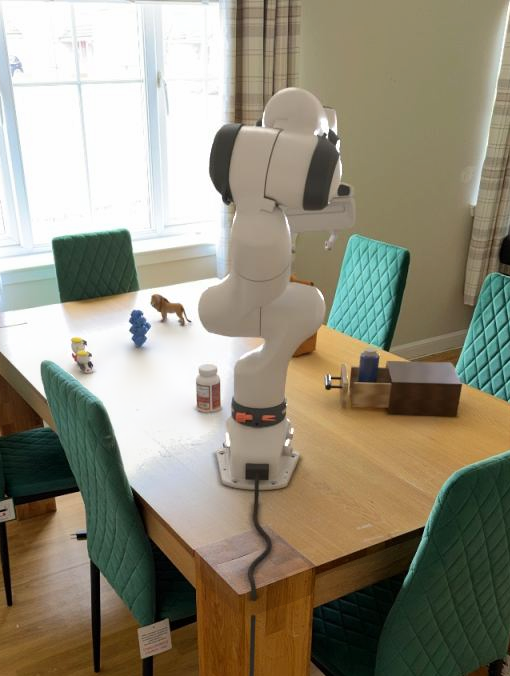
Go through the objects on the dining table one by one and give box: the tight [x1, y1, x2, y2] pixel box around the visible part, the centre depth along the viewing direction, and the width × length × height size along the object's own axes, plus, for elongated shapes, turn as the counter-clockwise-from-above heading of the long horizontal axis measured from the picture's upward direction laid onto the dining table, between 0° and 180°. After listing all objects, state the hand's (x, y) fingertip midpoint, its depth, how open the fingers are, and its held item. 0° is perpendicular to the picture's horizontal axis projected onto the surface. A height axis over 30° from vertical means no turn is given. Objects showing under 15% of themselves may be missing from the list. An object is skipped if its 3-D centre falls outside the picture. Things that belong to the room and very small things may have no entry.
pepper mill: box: [358, 347, 381, 383], centre depth 189 cm, size 5×5×12 cm
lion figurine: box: [150, 293, 192, 326], centre depth 251 cm, size 15×5×9 cm, turn 70°
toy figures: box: [70, 336, 94, 374], centre depth 215 cm, size 12×4×8 cm, turn 23°
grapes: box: [128, 308, 152, 348], centre depth 230 cm, size 12×7×12 cm, turn 24°
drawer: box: [324, 363, 391, 410], centre depth 191 cm, size 20×14×7 cm
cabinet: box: [385, 360, 463, 418], centre depth 190 cm, size 17×15×9 cm
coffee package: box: [289, 273, 318, 357], centre depth 222 cm, size 10×12×22 cm
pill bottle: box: [195, 363, 222, 413], centre depth 189 cm, size 6×6×11 cm
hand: (310, 251), depth 174 cm, fingers open, 8 cm apart
